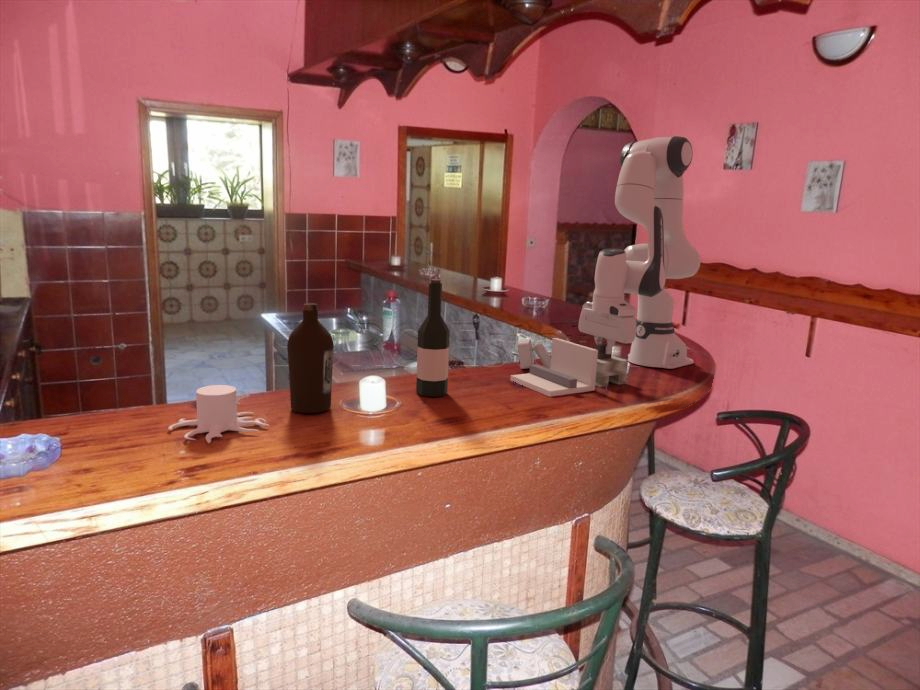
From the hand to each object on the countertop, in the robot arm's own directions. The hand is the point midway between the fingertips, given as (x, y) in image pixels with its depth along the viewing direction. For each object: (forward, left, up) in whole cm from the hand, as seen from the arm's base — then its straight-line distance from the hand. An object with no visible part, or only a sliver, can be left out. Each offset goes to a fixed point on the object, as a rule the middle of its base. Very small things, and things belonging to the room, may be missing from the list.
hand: (603, 352), depth 190 cm
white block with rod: (+9, -18, -9) cm, 22 cm away
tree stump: (+107, -6, -9) cm, 108 cm away
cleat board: (+17, -2, -9) cm, 19 cm away
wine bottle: (+52, -9, -9) cm, 54 cm away
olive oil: (+85, -9, -9) cm, 86 cm away
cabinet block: (0, 0, -9) cm, 9 cm away
